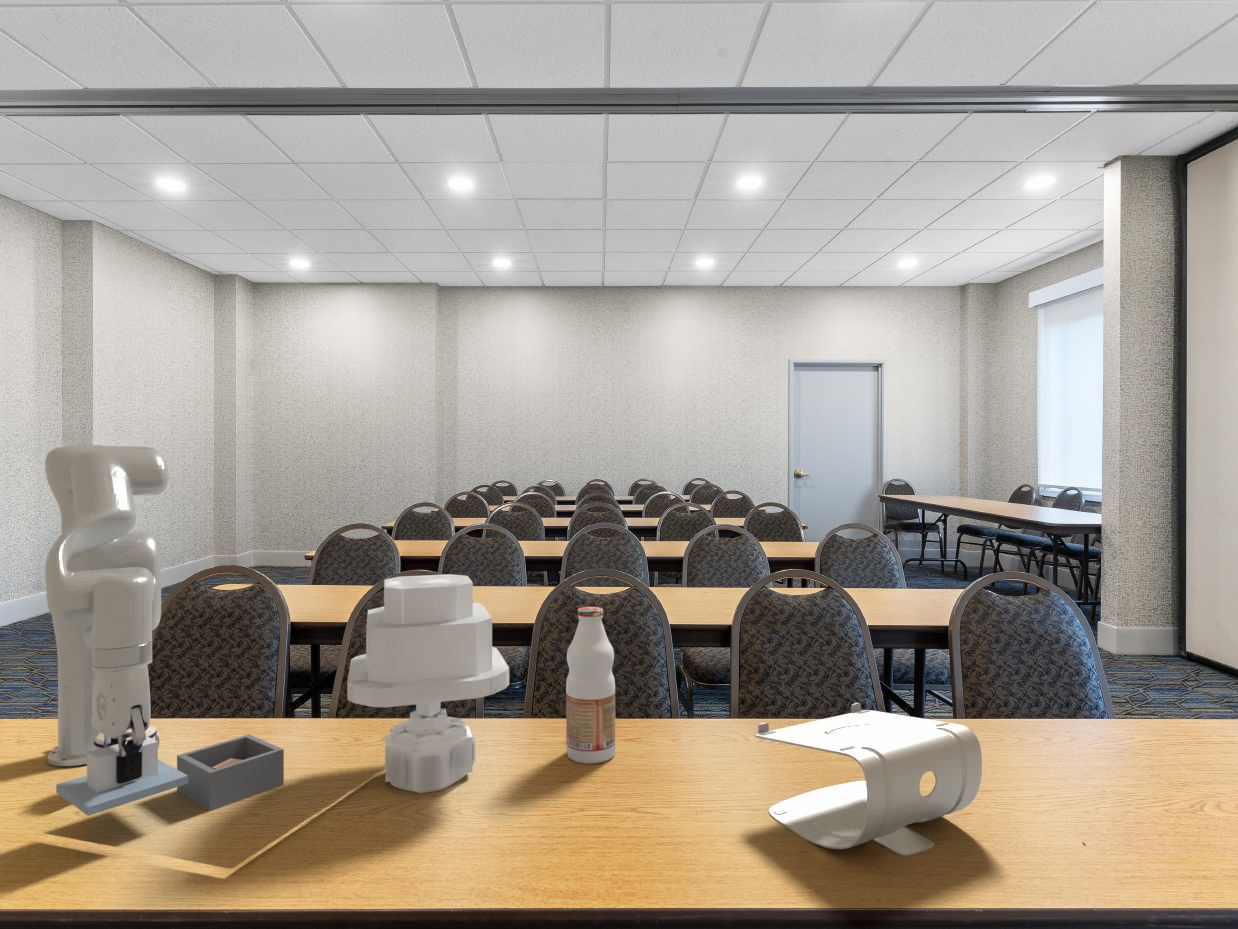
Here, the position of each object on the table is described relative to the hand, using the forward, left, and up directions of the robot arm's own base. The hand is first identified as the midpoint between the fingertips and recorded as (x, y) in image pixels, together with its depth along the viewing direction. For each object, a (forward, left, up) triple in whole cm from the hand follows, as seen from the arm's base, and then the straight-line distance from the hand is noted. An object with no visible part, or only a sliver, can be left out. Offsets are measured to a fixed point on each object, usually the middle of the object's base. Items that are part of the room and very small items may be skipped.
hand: (123, 775), depth 110 cm
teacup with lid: (-19, +8, -9) cm, 23 cm away
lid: (0, 0, -2) cm, 2 cm away
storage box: (0, +16, -9) cm, 18 cm away
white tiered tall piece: (+22, +40, -9) cm, 46 cm away
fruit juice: (+39, +65, -9) cm, 76 cm away
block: (0, +16, -8) cm, 18 cm away
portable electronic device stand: (+90, +70, -9) cm, 114 cm away
